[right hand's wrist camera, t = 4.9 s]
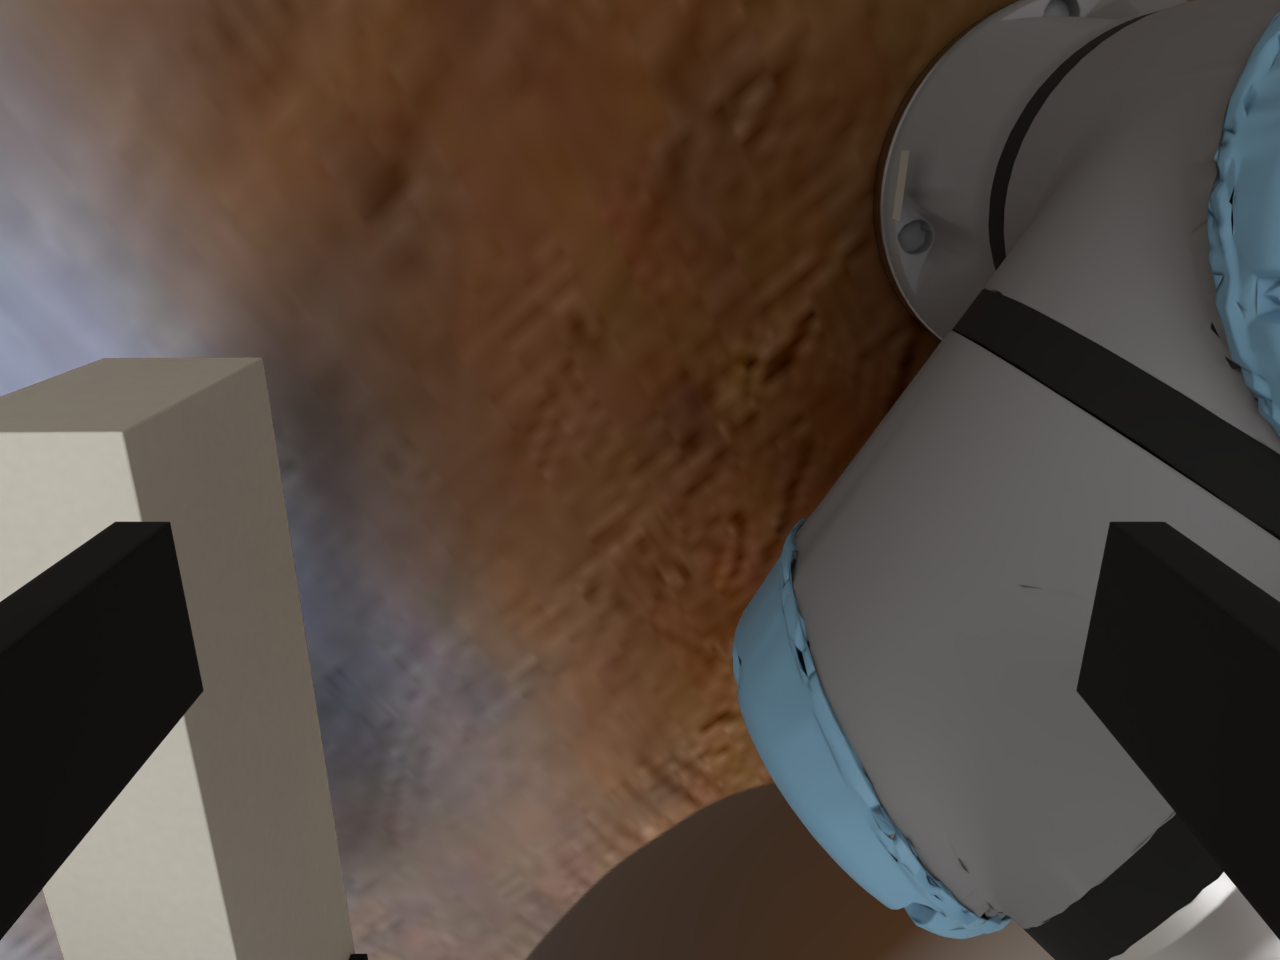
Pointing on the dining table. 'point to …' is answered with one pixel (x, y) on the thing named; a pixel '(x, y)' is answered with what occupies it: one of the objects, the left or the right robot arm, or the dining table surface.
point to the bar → (227, 656)
